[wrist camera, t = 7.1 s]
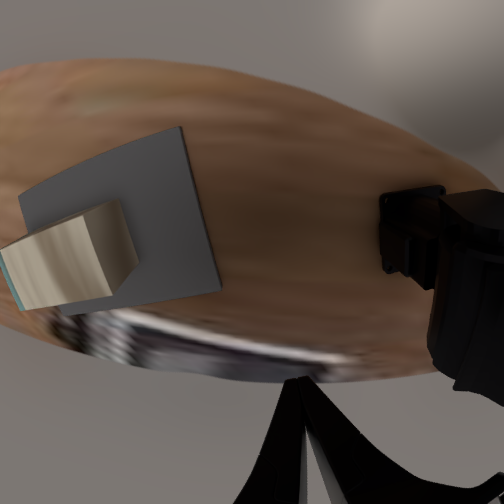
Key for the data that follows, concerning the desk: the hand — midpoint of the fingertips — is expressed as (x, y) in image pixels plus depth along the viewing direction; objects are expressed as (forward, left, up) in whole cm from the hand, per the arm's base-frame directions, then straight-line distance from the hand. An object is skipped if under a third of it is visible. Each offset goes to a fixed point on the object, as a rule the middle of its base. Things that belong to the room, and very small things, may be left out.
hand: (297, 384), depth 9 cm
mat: (+12, -4, -12) cm, 18 cm away
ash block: (+9, -4, -9) cm, 14 cm away
